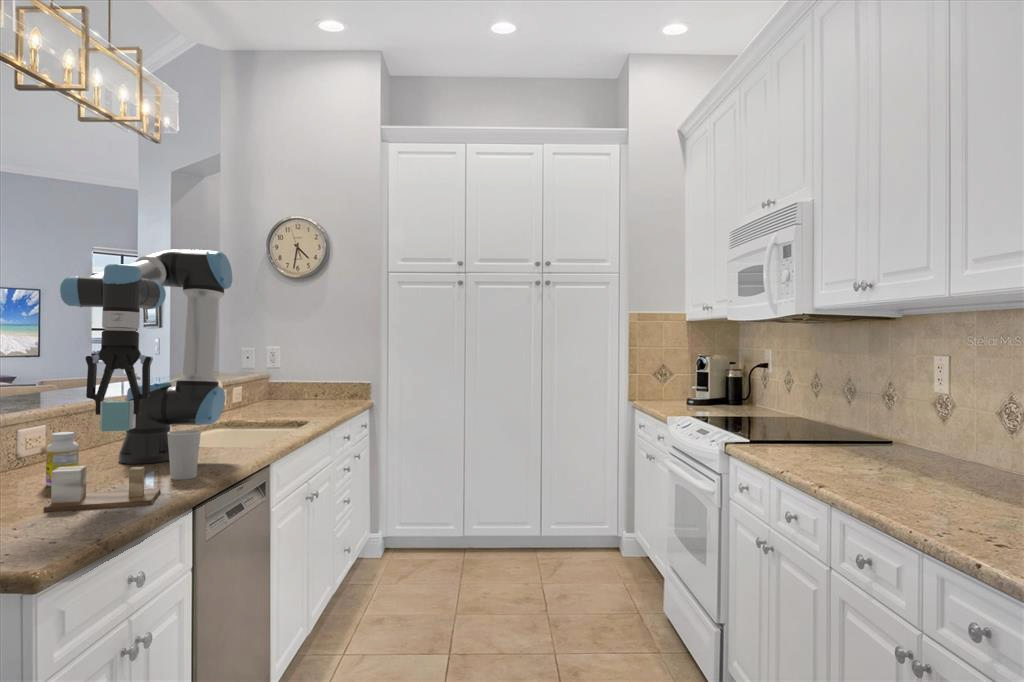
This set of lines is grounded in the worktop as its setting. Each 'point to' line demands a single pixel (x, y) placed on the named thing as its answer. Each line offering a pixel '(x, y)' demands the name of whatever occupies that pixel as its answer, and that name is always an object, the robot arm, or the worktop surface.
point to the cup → (183, 453)
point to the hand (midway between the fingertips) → (117, 428)
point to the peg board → (73, 496)
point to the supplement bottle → (61, 453)
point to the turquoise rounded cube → (115, 415)
